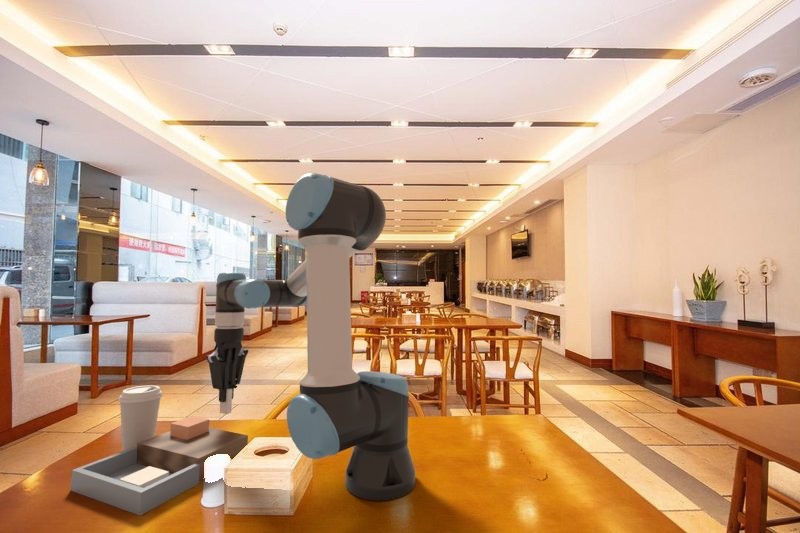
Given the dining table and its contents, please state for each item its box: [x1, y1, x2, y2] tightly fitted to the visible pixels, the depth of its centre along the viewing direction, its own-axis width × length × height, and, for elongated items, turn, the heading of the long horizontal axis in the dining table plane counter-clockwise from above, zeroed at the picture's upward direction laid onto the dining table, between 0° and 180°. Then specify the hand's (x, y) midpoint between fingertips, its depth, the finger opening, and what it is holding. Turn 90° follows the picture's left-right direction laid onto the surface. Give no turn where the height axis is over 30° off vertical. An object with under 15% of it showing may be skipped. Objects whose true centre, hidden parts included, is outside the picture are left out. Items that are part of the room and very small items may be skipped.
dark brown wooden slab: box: [137, 426, 249, 483], centre depth 89 cm, size 20×14×5 cm
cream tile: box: [119, 466, 169, 488], centre depth 75 cm, size 6×6×3 cm
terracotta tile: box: [169, 415, 210, 440], centre depth 93 cm, size 6×6×3 cm
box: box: [70, 447, 200, 516], centre depth 77 cm, size 21×12×4 cm, turn 68°
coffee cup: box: [117, 384, 164, 452], centre depth 96 cm, size 10×10×15 cm
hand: (225, 412), depth 103 cm, fingers closed
